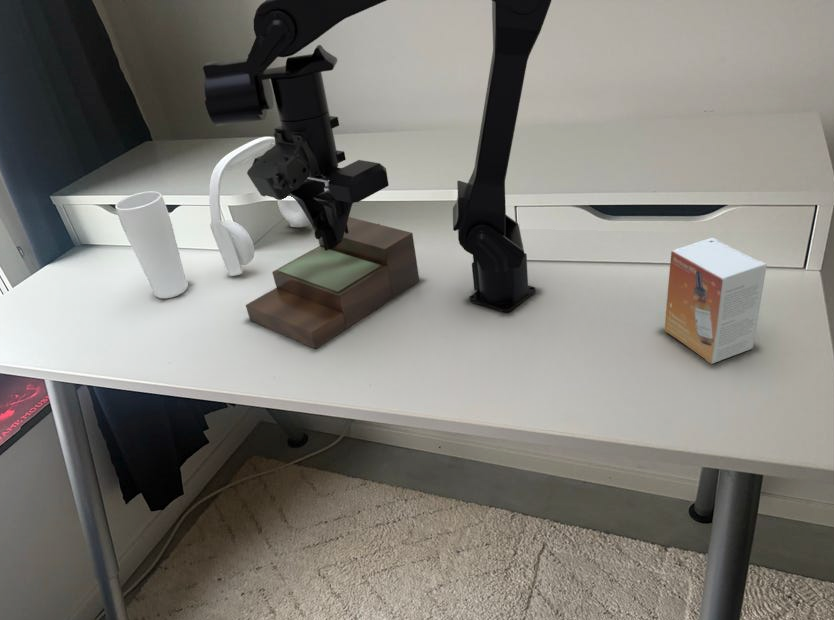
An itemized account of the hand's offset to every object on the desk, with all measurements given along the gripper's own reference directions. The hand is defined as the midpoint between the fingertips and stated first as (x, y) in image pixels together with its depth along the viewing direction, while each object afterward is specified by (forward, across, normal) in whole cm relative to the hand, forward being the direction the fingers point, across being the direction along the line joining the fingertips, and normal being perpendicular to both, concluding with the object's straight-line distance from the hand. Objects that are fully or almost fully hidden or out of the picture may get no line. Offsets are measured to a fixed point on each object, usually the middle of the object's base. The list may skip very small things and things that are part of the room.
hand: (330, 237), depth 91 cm
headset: (+11, -26, +8) cm, 29 cm away
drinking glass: (+11, -30, -9) cm, 33 cm away
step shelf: (+11, -4, +2) cm, 12 cm away
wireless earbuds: (+1, 0, 0) cm, 1 cm away
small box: (+11, +42, +16) cm, 47 cm away
